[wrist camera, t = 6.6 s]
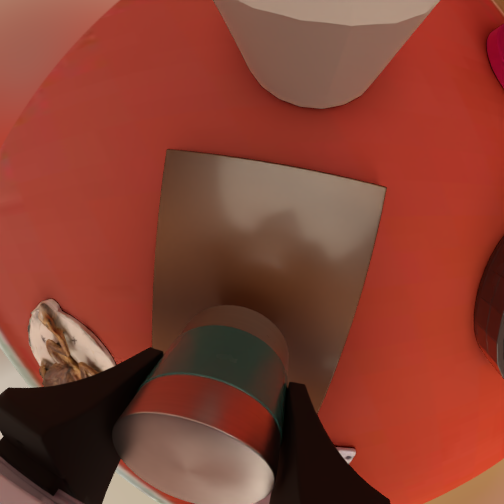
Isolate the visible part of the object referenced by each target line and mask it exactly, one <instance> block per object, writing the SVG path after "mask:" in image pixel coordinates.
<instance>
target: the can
mask: <svg viewBox="0 0 504 504" xmlns="http://www.w3.org/2000/svg"><path fill="white" fill-rule="evenodd" d="M213 1H214V3H215V5H216V6H217V8H218V10H219V12H220V14H221V16H222V17H223V19H224V21H225V23H226V25H227V27H228V29H229V31H230V32H231V34H232V36H233V38H234V40H235V42H236V44H237V46H238V48H239V50H240V52H241V54H242V56H243V58H244V60H245V62H246V64H247V66H248V68H249V70H250V72H251V73H252V74H253V76H254V77H255V78H256V80H257V81H258V82H259V84H260V85H261V86H262V87H263V88H264V89H266V90H267V91H269V92H270V93H271V94H273V95H274V96H276V97H277V98H278V99H280V100H283V101H286V102H289V103H291V104H294V105H297V106H299V107H309V108H320V109H324V108H329V107H334V106H340V105H344V104H346V103H348V102H350V101H352V100H354V99H355V98H357V97H359V96H361V95H362V94H363V93H364V92H365V91H366V90H367V88H368V87H369V86H370V85H371V84H372V83H373V82H374V80H375V79H376V78H377V77H378V76H379V74H380V73H381V72H382V71H383V69H384V68H385V67H386V66H387V64H388V63H389V62H390V61H391V60H392V58H393V57H394V56H395V55H396V53H397V52H398V51H399V50H400V48H401V47H402V46H403V45H404V44H405V42H406V41H407V40H408V39H409V37H410V36H411V35H412V34H413V33H414V31H415V30H416V29H417V28H418V27H419V25H420V24H421V23H422V22H423V20H424V19H425V18H426V17H427V16H428V14H429V13H430V12H431V11H432V10H433V8H434V7H435V6H436V5H437V4H438V2H439V1H440V0H213Z"/></svg>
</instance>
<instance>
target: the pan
mask: <svg viewBox="0 0 504 504" xmlns="http://www.w3.org/2000/svg"><path fill="white" fill-rule="evenodd" d="M474 328H475V335H476V340H477V342H478V345H479V347H480V349H481V350H482V352H483V353H484V355H485V357H486V358H487V359H488V360H489V362H490V363H491V364H492V365H493V366H494V368H495V369H496V370H497V371H498V373H499V374H500V375H501V376H502V378H503V379H504V236H503V237H502V239H501V240H500V242H499V243H498V245H497V246H496V248H495V250H494V252H493V254H492V256H491V257H490V259H489V262H488V264H487V266H486V268H485V271H484V274H483V277H482V279H481V283H480V286H479V290H478V294H477V299H476V304H475V312H474Z"/></svg>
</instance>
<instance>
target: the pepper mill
mask: <svg viewBox="0 0 504 504" xmlns="http://www.w3.org/2000/svg"><path fill="white" fill-rule="evenodd" d="M487 53H488V57H489V61H490V64H491V67H492V69H493V71H494V73H495V75H496V77H497V79H498V80H499V82H500V84H501V85H502V87H503V88H504V24H503V25H501V26H500V27H498V28H497V29H495V30H494V31H492V32H491V33H490V34H489V36H488V39H487Z"/></svg>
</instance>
